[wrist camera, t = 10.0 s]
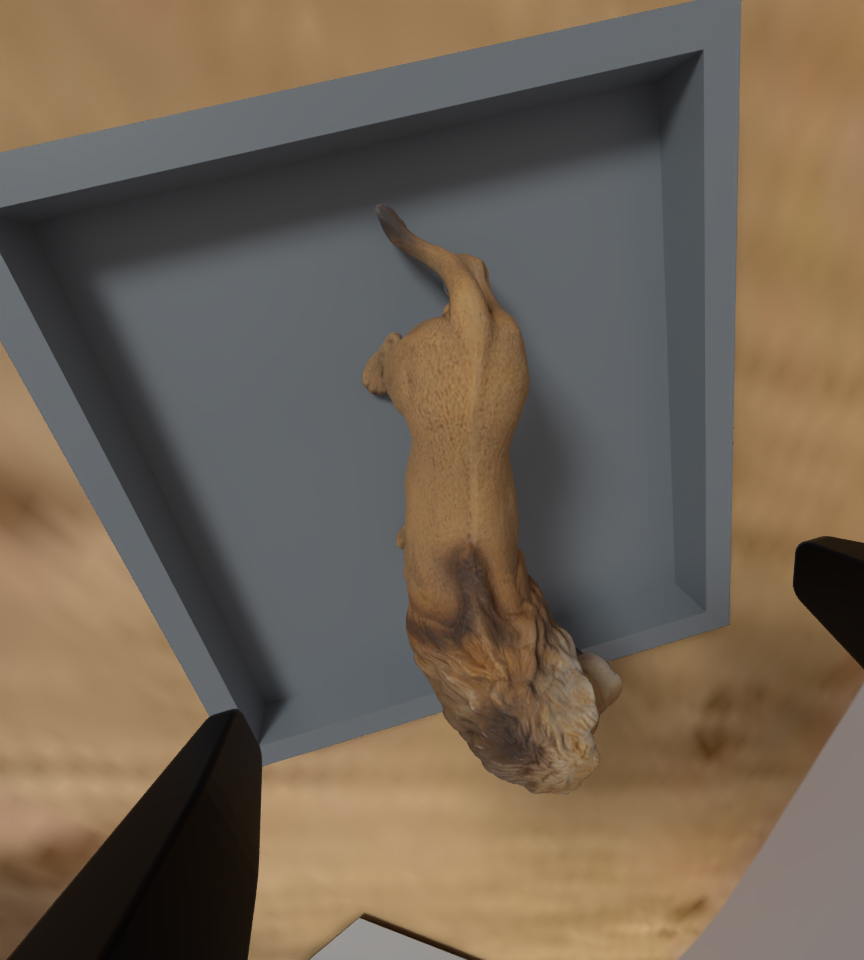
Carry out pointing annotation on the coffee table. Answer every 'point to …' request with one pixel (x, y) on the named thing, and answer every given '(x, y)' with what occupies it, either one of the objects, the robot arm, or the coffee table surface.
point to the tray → (362, 330)
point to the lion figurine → (481, 539)
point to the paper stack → (378, 945)
